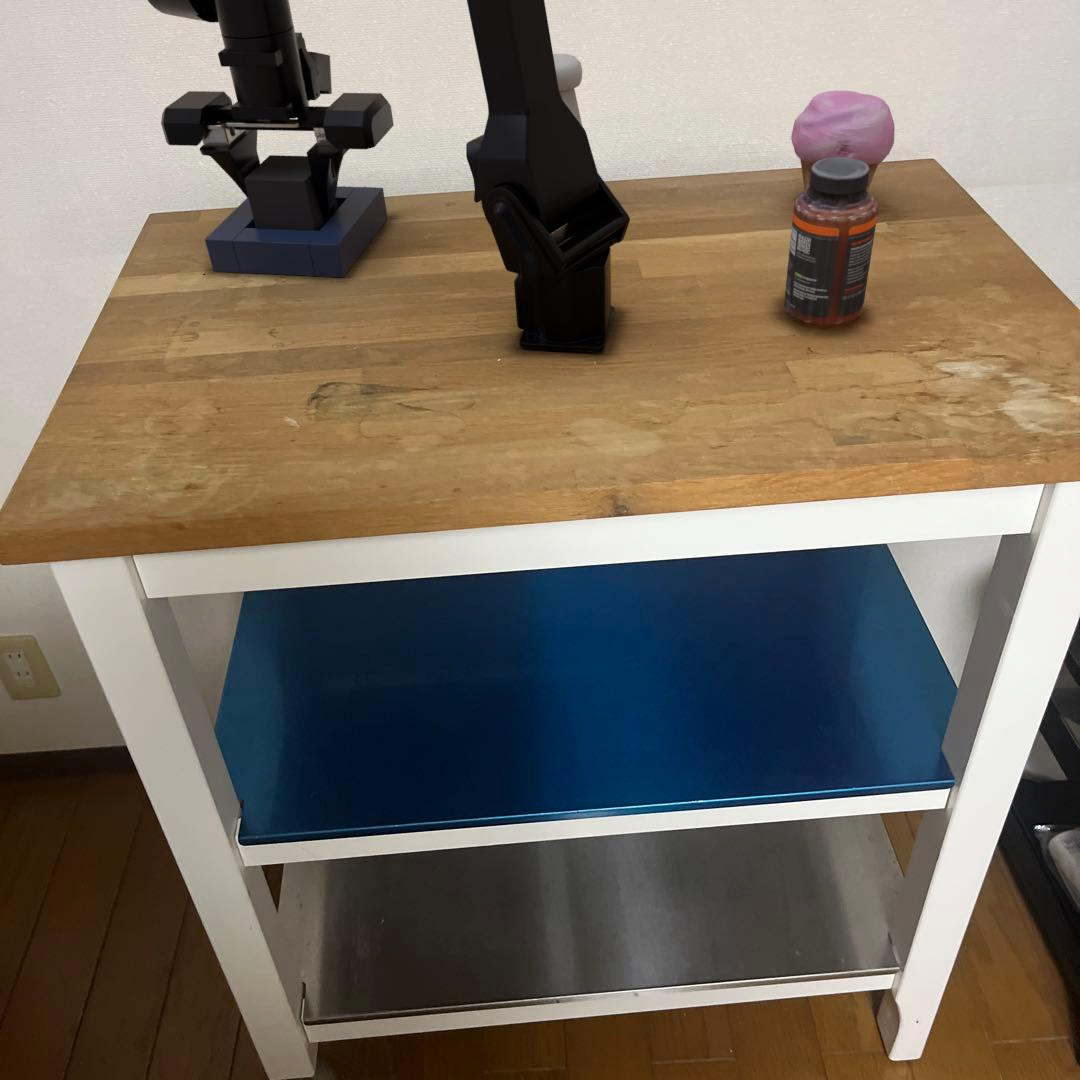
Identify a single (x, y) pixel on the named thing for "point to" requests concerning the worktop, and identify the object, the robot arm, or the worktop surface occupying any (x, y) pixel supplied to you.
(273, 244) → the base
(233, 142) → the robot arm
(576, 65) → the salt shaker
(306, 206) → the black cube
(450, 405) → the worktop surface
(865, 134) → the cupcake
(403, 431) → the worktop surface
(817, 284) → the supplement bottle
